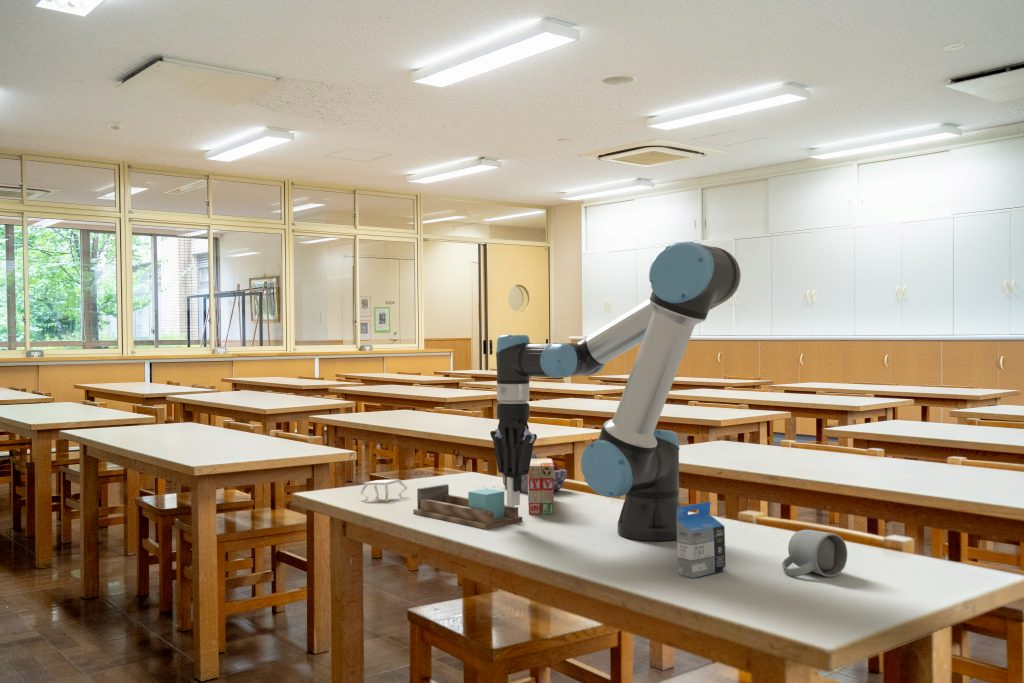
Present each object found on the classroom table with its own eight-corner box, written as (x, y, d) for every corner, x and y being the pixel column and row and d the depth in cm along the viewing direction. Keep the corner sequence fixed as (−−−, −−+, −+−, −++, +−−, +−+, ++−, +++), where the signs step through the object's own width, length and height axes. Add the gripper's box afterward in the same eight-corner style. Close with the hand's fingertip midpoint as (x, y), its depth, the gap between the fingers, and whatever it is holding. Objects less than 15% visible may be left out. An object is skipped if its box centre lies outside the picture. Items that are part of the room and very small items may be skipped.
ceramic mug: (815, 564, 160) (814, 523, 160) (849, 574, 153) (848, 531, 152) (771, 571, 156) (770, 529, 156) (803, 582, 148) (803, 538, 148)
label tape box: (692, 579, 150) (692, 509, 150) (675, 574, 153) (675, 506, 153) (726, 571, 155) (726, 504, 155) (709, 566, 158) (709, 501, 158)
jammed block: (504, 516, 200) (504, 491, 200) (486, 520, 196) (485, 494, 196) (486, 513, 204) (486, 488, 204) (468, 517, 200) (468, 491, 200)
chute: (522, 521, 200) (522, 495, 200) (485, 529, 192) (485, 502, 192) (449, 506, 218) (449, 483, 218) (413, 513, 210) (413, 489, 210)
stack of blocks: (527, 499, 229) (527, 453, 229) (550, 499, 229) (550, 453, 229) (528, 515, 208) (528, 464, 208) (554, 515, 208) (554, 464, 208)
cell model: (523, 447, 255) (573, 454, 241) (523, 483, 255) (572, 492, 241) (492, 451, 246) (541, 459, 232) (491, 488, 246) (541, 498, 232)
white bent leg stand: (377, 504, 223) (377, 485, 223) (359, 499, 229) (359, 481, 229) (413, 498, 232) (413, 480, 232) (395, 494, 238) (394, 476, 238)
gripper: (481, 401, 196) (481, 503, 196) (522, 404, 186) (522, 511, 186) (504, 400, 201) (504, 499, 201) (545, 402, 192) (545, 506, 192)
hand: (513, 505), depth 194 cm, fingers closed
